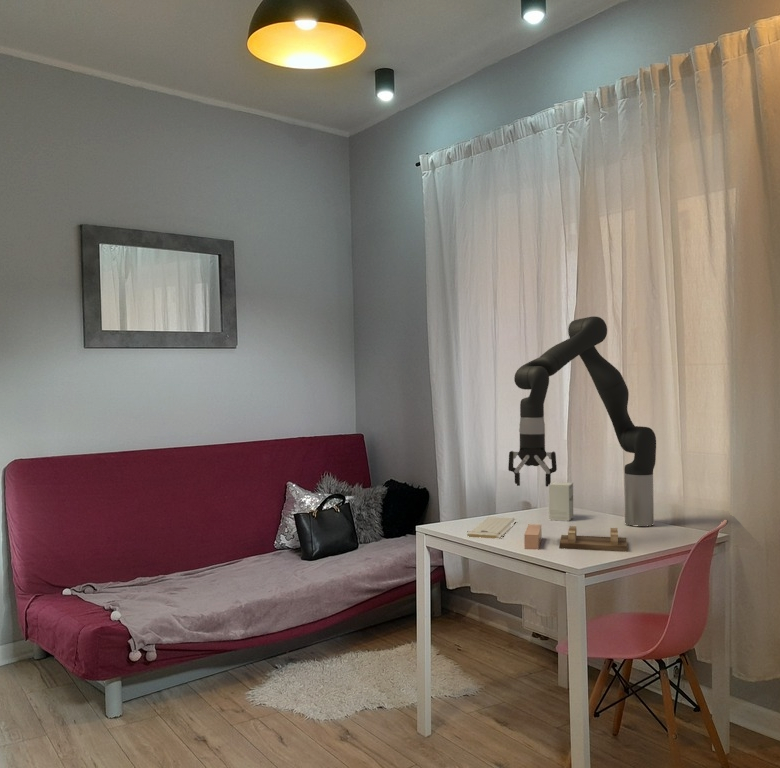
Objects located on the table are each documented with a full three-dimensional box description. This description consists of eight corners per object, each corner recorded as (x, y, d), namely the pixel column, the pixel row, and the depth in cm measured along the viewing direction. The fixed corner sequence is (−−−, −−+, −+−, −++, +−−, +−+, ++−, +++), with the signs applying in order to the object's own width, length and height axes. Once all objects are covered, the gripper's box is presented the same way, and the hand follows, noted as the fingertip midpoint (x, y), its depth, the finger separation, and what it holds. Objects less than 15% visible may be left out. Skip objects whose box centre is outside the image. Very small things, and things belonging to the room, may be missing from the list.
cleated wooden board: (561, 539, 231) (561, 525, 231) (626, 542, 226) (625, 527, 226) (559, 548, 219) (559, 532, 219) (627, 551, 214) (627, 535, 214)
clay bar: (528, 538, 235) (528, 524, 235) (541, 539, 234) (541, 524, 234) (524, 549, 219) (524, 534, 219) (538, 550, 218) (538, 535, 218)
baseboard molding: (522, 523, 262) (488, 521, 266) (522, 514, 262) (488, 513, 266) (504, 541, 233) (467, 538, 237) (504, 531, 233) (467, 529, 237)
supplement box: (569, 521, 260) (569, 485, 260) (548, 520, 263) (548, 484, 263) (574, 518, 267) (573, 482, 267) (553, 516, 270) (553, 481, 270)
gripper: (556, 431, 228) (557, 484, 228) (509, 431, 232) (510, 483, 232) (555, 433, 221) (555, 488, 221) (506, 432, 225) (507, 486, 225)
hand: (532, 485), depth 226 cm, fingers open, 8 cm apart
